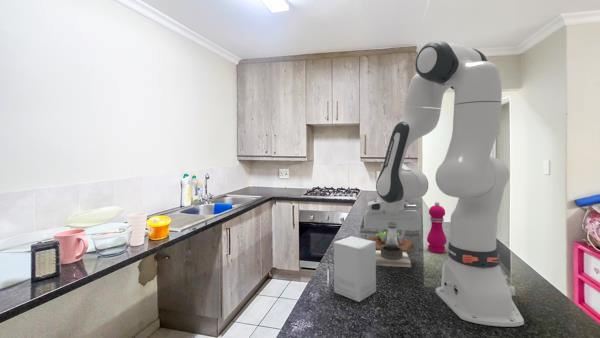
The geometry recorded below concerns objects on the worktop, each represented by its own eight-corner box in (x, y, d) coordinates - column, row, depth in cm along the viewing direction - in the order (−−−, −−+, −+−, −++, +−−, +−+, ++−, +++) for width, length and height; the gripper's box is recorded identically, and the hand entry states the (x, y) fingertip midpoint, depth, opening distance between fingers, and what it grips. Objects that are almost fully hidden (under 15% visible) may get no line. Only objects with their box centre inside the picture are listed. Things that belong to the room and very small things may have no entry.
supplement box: (377, 292, 88) (377, 241, 87) (359, 303, 82) (359, 248, 81) (351, 282, 94) (351, 235, 94) (333, 292, 88) (332, 241, 87)
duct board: (411, 267, 106) (411, 254, 106) (375, 265, 108) (375, 252, 108) (405, 255, 118) (406, 244, 117) (374, 254, 120) (374, 242, 120)
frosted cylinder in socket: (397, 251, 115) (397, 220, 114) (398, 255, 110) (399, 223, 109) (384, 250, 115) (384, 219, 115) (385, 255, 111) (385, 222, 110)
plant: (360, 252, 123) (360, 225, 122) (367, 239, 141) (367, 215, 141) (413, 258, 116) (413, 229, 115) (413, 243, 134) (413, 218, 134)
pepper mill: (448, 254, 119) (449, 203, 118) (429, 253, 120) (429, 203, 119) (443, 248, 126) (444, 200, 125) (425, 247, 127) (425, 200, 126)
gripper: (419, 203, 113) (419, 240, 114) (363, 202, 117) (363, 237, 118) (423, 206, 107) (423, 245, 107) (363, 205, 111) (364, 242, 111)
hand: (391, 241), depth 113 cm, fingers closed on frosted cylinder in socket, 4 cm apart
